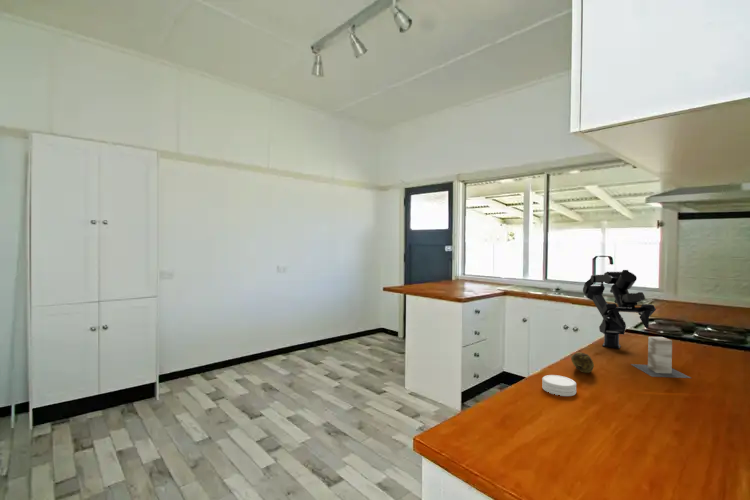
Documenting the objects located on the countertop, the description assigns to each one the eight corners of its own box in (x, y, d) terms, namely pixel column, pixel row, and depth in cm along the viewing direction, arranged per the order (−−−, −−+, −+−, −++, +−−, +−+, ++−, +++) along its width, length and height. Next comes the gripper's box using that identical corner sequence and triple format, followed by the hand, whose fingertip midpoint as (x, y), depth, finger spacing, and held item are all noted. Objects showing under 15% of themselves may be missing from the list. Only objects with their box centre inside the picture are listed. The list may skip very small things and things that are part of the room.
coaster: (580, 390, 118) (580, 380, 118) (570, 400, 111) (570, 388, 111) (548, 382, 125) (548, 372, 125) (537, 390, 118) (537, 379, 118)
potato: (600, 371, 135) (600, 349, 135) (589, 380, 126) (589, 357, 126) (576, 365, 141) (576, 345, 141) (564, 373, 132) (564, 352, 132)
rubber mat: (630, 365, 141) (630, 364, 141) (666, 366, 139) (666, 365, 139) (651, 378, 128) (651, 376, 128) (691, 379, 126) (691, 378, 126)
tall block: (647, 368, 136) (648, 336, 136) (662, 368, 136) (662, 337, 135) (656, 372, 131) (657, 340, 131) (671, 373, 131) (672, 340, 130)
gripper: (605, 284, 153) (618, 317, 142) (654, 285, 150) (670, 318, 140) (596, 299, 161) (607, 330, 151) (642, 300, 158) (656, 332, 148)
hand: (635, 327), depth 147 cm, fingers open, 9 cm apart
